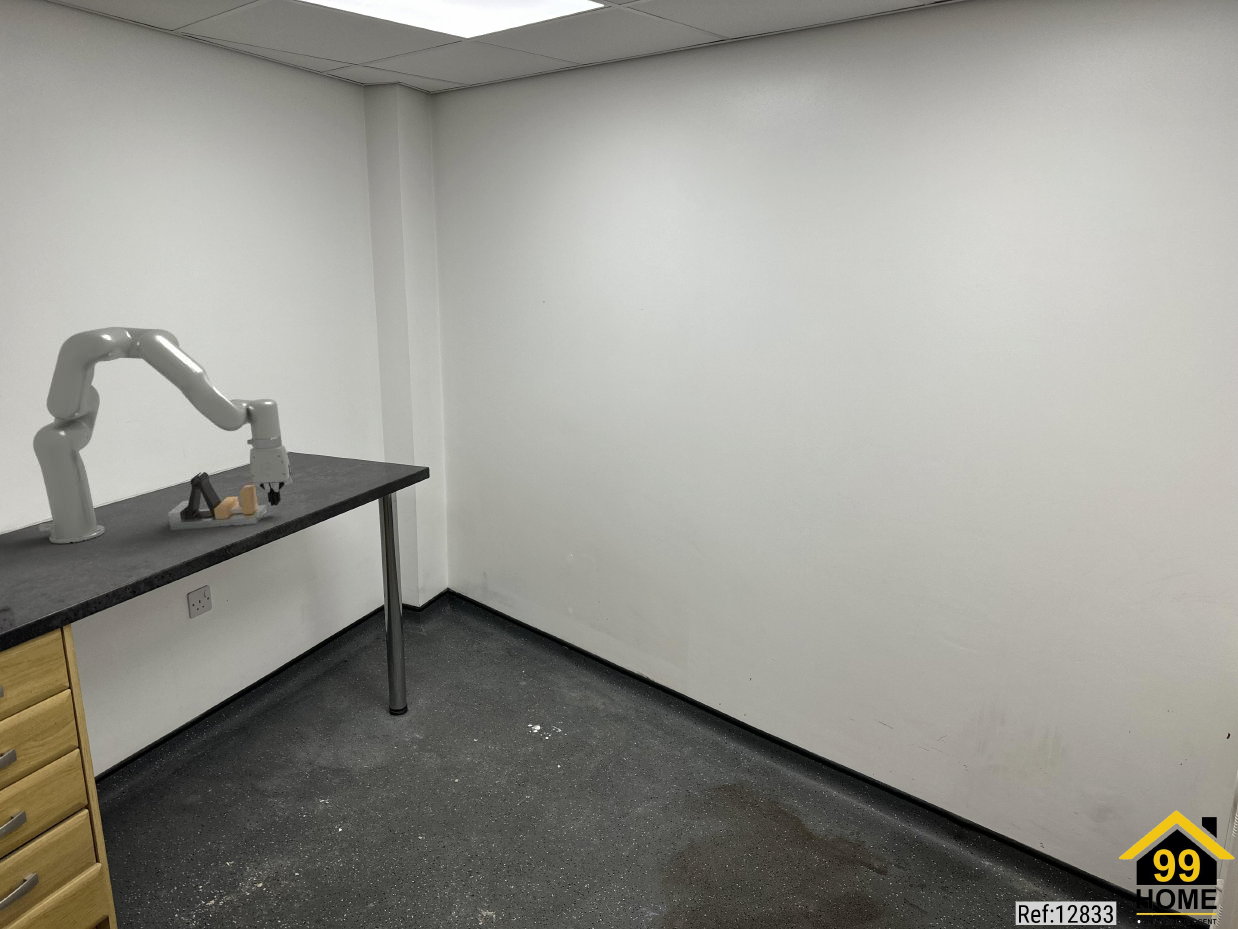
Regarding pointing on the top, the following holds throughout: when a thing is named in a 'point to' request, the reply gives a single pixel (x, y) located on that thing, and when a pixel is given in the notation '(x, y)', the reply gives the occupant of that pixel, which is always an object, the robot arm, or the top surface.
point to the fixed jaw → (178, 513)
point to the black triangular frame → (200, 486)
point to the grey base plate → (221, 520)
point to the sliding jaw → (232, 503)
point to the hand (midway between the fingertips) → (275, 504)
